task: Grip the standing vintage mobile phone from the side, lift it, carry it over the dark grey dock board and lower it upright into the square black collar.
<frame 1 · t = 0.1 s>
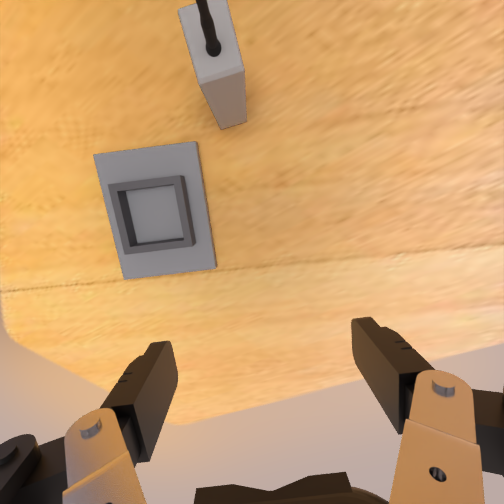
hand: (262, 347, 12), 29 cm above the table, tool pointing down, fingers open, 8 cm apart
dock board: (161, 213, 39), on the table
vintage mobile phone: (228, 107, 36), on the table
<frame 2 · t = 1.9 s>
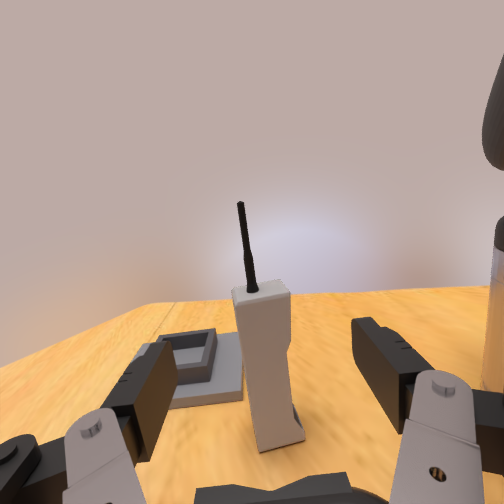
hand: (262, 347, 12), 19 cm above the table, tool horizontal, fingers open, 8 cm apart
dock board: (185, 371, 41), on the table
vintage mobile phone: (278, 433, 29), on the table
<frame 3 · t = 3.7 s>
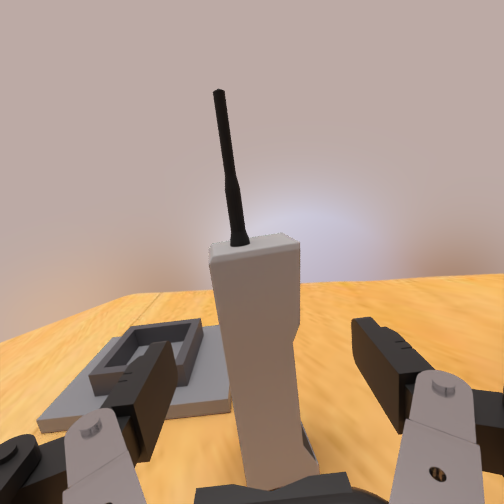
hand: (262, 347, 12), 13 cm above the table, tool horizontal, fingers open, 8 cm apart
dock board: (159, 372, 32), on the table
vintage mobile phone: (279, 464, 20), on the table
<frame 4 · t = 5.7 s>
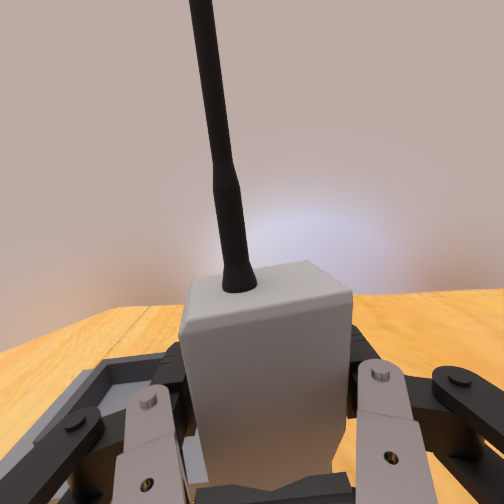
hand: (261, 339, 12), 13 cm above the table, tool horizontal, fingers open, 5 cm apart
dock board: (135, 422, 25), on the table
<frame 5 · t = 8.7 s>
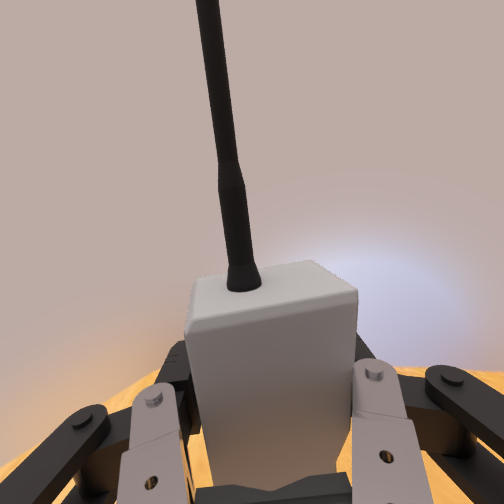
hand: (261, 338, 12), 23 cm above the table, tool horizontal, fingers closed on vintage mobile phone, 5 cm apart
when the fingers open (16 cm above the table, at t = 11.5 s): vintage mobile phone drops 2 cm, resting on dock board.
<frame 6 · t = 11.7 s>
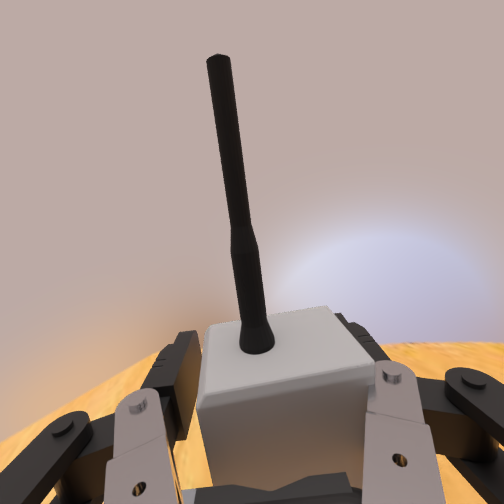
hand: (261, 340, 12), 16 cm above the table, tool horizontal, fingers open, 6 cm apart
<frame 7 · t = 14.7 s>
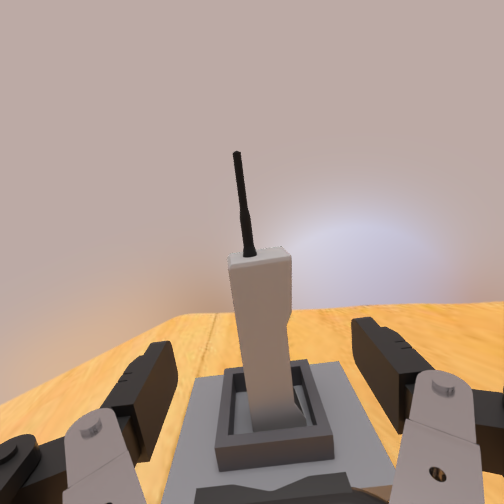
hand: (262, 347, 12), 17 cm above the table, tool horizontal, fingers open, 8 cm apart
dock board: (273, 429, 27), on the table
vintage mobile phone: (277, 419, 26), point 1 cm above the table, touching dock board
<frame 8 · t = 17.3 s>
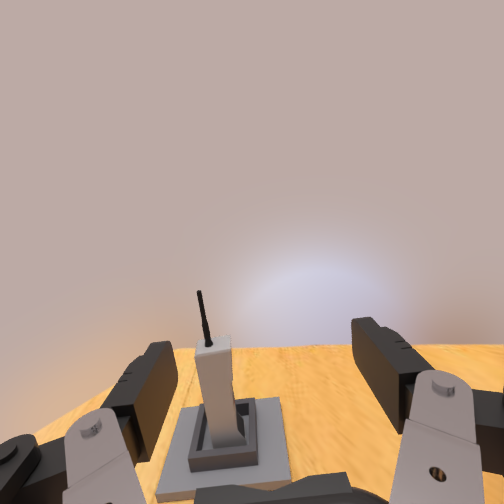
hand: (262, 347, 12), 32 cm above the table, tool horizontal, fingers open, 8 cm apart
dock board: (228, 445, 42), on the table
vintage mobile phone: (230, 439, 41), point 1 cm above the table, touching dock board
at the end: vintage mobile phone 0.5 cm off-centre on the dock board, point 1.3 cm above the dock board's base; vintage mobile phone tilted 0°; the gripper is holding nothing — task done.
